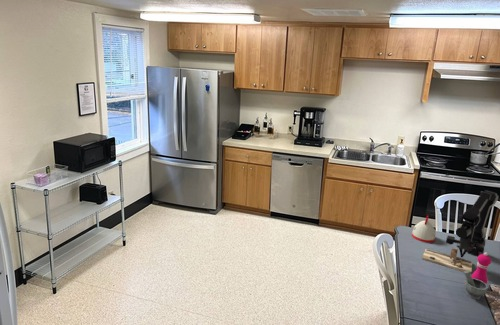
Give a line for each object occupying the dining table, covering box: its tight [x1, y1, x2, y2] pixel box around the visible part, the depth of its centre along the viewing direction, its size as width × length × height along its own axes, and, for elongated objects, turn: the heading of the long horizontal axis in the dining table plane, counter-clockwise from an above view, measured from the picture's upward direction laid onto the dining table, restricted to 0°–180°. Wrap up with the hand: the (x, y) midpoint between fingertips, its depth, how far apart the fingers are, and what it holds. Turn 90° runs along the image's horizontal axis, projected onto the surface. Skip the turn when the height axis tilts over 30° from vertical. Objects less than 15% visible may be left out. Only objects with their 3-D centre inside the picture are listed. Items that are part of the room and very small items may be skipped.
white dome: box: [411, 215, 437, 243], centre depth 238 cm, size 14×14×15 cm
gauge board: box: [421, 247, 473, 275], centre depth 212 cm, size 13×25×2 cm, turn 57°
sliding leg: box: [449, 247, 459, 263], centre depth 210 cm, size 11×3×5 cm, turn 147°
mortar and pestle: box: [463, 271, 489, 300], centre depth 181 cm, size 11×9×12 cm
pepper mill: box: [471, 251, 492, 284], centre depth 187 cm, size 7×7×20 cm
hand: (461, 257), depth 210 cm, fingers closed
